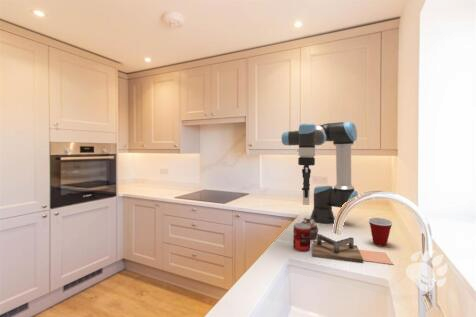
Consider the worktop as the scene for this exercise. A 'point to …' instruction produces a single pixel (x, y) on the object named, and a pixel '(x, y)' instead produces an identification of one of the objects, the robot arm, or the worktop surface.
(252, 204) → the worktop surface
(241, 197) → the worktop surface
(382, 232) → the plastic cup
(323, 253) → the wire board
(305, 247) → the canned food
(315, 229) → the cupcake
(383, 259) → the mat
